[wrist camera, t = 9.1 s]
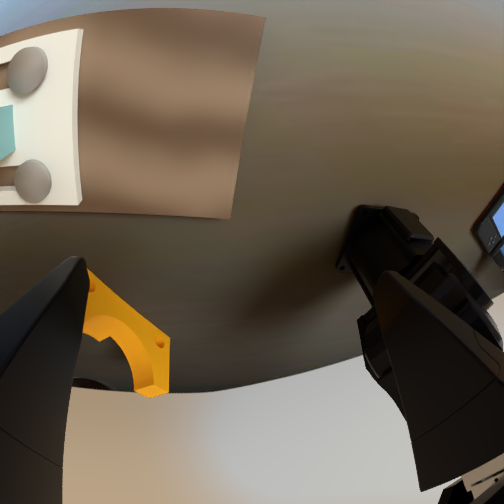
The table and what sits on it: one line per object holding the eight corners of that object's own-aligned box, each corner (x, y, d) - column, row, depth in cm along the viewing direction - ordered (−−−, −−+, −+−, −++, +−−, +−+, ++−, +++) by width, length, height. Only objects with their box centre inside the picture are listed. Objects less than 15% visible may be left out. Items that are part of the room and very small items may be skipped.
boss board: (228, 210, 20) (232, 234, 18) (-23, 204, 16) (-42, 223, 13) (261, 20, 13) (272, 13, 10) (-36, 54, 8) (-61, 60, 6)
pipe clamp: (55, 282, 22) (32, 338, 17) (81, 260, 21) (57, 320, 16) (140, 349, 29) (136, 401, 24) (170, 336, 28) (168, 392, 23)
